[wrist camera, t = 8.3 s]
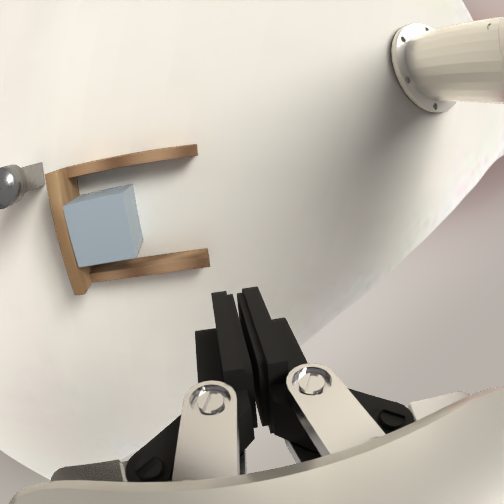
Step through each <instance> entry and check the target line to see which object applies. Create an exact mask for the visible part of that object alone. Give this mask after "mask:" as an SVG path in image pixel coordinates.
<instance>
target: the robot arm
mask: <svg viewBox="0 0 504 504" xmlns="http://www.w3.org/2000/svg"><path fill="white" fill-rule="evenodd" d="M391 53H392V62H393V67H394V70H395V74H396V77H397V79H398V81H399V83H400V85H401V87H402V88H403V90H404V92H405V93H406V94H407V95H408V97H409V98H410V99H411V100H412V101H413V102H414V103H415V104H416V105H417V106H419V107H420V108H422V109H424V110H426V111H429V112H445V111H448V110H449V109H451V108H452V107H453V106H454V104H455V103H456V101H464V102H484V103H498V104H504V17H498V18H490V19H483V20H478V21H472V22H466V23H461V24H456V25H451V26H447V27H443V28H438V29H433V28H431V27H429V26H427V25H424V24H420V23H413V24H408V25H406V26H403V27H402V28H401V29H399V30H398V31H397V33H396V34H395V36H394V39H393V42H392V48H391ZM211 295H212V302H213V309H214V316H215V323H216V328H215V329H207V330H200V331H195V341H196V357H197V372H198V384H196V385H195V386H193V387H192V388H190V389H189V391H188V392H187V393H186V395H185V398H184V402H183V408H182V414H181V415H180V416H179V417H178V418H177V419H175V420H174V421H173V422H172V423H171V424H170V425H169V426H167V427H166V428H165V429H164V430H163V431H162V432H160V433H159V434H158V435H157V436H156V437H154V438H153V439H152V440H151V441H150V442H148V443H147V444H146V445H145V446H144V447H142V448H141V449H140V450H139V451H138V452H136V453H135V454H134V455H133V456H132V457H131V458H130V459H129V461H125V462H120V461H119V460H113V461H107V462H101V463H94V464H87V465H78V466H69V467H63V468H60V469H58V470H57V471H56V472H55V473H54V474H53V476H52V478H51V482H44V483H40V484H36V485H32V486H29V487H27V488H24V489H22V490H20V491H19V492H18V493H16V494H15V495H14V497H13V498H12V500H11V501H10V503H9V504H504V387H496V388H490V389H487V390H483V391H480V392H477V393H474V394H472V395H469V394H468V393H466V392H462V391H457V392H452V393H449V394H444V395H440V396H436V397H432V398H428V399H423V400H419V401H414V402H410V403H409V405H408V406H404V405H402V404H399V403H397V402H393V401H389V400H386V399H382V398H379V397H375V396H372V395H368V394H365V393H361V392H358V391H355V390H352V389H348V388H347V387H346V386H345V385H344V384H343V382H342V381H341V380H340V379H339V378H338V376H337V375H336V374H335V373H334V372H333V371H332V370H331V369H330V368H328V367H326V366H324V365H321V364H317V363H307V361H306V359H305V357H304V355H303V353H302V351H301V349H300V347H299V345H298V343H297V341H296V339H295V336H294V334H293V332H292V330H291V328H290V326H289V324H288V322H287V320H286V319H285V318H279V319H273V320H271V318H270V315H269V313H268V310H267V308H266V306H265V303H264V301H263V299H262V296H261V294H260V291H259V289H258V287H251V288H244V289H242V293H237V300H238V310H239V317H238V313H237V309H236V305H235V302H234V298H233V294H230V295H227V293H226V291H223V292H215V293H211ZM255 401H256V404H257V408H258V412H259V416H260V420H261V423H262V426H267V425H268V426H269V429H270V433H274V434H275V435H277V436H279V437H282V438H284V439H285V443H286V445H287V447H288V449H289V451H290V453H291V454H292V456H293V458H294V460H295V462H296V463H297V464H293V465H289V466H285V467H281V468H276V469H271V470H266V471H261V472H255V473H249V474H247V469H246V450H245V449H246V448H247V447H248V445H249V444H250V443H251V442H252V441H253V440H254V429H253V428H257V427H258V425H257V414H256V404H255Z"/></svg>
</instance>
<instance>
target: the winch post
mask: <svg viewBox="0 0 504 504" xmlns="http://www.w3.org/2000/svg"><path fill="white" fill-rule="evenodd" d="M44 184H45V178H44V172H43V165H42V162H41V163H37V164H33V165H30V166H26V167H23V168H20V167H19V166H17V165H8V166H5V167H1V168H0V209H4V208H6V207H8V206H10V205H12V204H14V203H16V202H18V201H19V200H21V199H22V197H23V196H24V194H25V193H26V192H28V191H30V190H33V189H35V188H37V187H40V186H42V185H44Z"/></svg>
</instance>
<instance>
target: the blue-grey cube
mask: <svg viewBox="0 0 504 504" xmlns="http://www.w3.org/2000/svg"><path fill="white" fill-rule="evenodd" d="M63 210H64V215H65V219H66V223H67V227H68V231H69V235H70V239H71V242H72V246H73V250H74V253H75V256H76V260H77V263H78V266H79V267H85V266H91V265H96V264H102V263H108V262H114V261H120V260H127V259H133V258H136V257H137V255H138V252H139V250H140V247H141V245H142V242H143V236H142V231H141V226H140V221H139V216H138V211H137V206H136V200H135V194H134V189H133V184H130V185H125V186H120V187H115V188H111V189H106V190H101V191H97V192H92V193H88V194H83V195H80V196H78V197H76V198H75V199H73V200H72V201H70V202H69V203H67V204H65V205H64V206H63Z"/></svg>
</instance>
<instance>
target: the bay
mask: <svg viewBox="0 0 504 504" xmlns="http://www.w3.org/2000/svg"><path fill="white" fill-rule="evenodd" d="M189 156H198V152H197V144H192V145H184V146H177V147H169V148H162V149H156V150H149V151H143V152H137V153H132V154H126V155H121V156H115V157H110V158H105V159H101V160H96V161H91V162H87V163H82V164H78V165H74V166H70V167H66V168H62V169H59V170H56V171H53V172H50V173H48V174H45V179H46V185H47V191H48V196H49V201H50V206H51V211H52V216H53V220H54V225H55V229H56V233H57V237H58V241H59V245H60V248H61V252H62V256H63V259H64V263H65V266H66V269H67V273H68V276H69V279H70V282H71V285H72V288H73V291H74V294H75V295H82V294H85V293H86V292H87V290H88V288H89V286H90V284H91V283H92V282H99V281H107V280H115V279H122V278H130V277H137V276H145V275H152V274H160V273H167V272H174V271H182V270H189V269H196V268H204V267H210V261H209V254H208V249H199V250H192V251H185V252H177V253H170V254H163V255H156V256H148V257H141V258H134V259H127V260H120V261H114V262H108V263H102V264H96V265H91V266H85V267H79V266H78V263H77V260H76V256H75V253H74V250H73V246H72V242H71V239H70V235H69V231H68V227H67V223H66V219H65V215H64V210H63V206H64V205H65V204H67V203H69V202H70V201H72V200H73V199H75V198H76V197H78V196H80V194H79V189H78V183H77V176H80V175H84V174H89V173H93V172H98V171H103V170H108V169H113V168H119V167H124V166H130V165H135V164H141V163H147V162H154V161H160V160H167V159H174V158H182V157H189Z"/></svg>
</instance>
